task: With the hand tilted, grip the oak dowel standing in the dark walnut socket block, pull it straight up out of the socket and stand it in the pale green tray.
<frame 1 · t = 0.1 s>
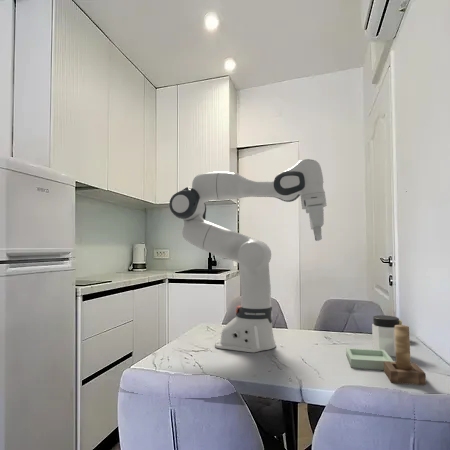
hand: (318, 240, 125), 39 cm above the table, tool pointing down, fingers open, 8 cm apart
tray: (368, 362, 108), on the table
socket block: (403, 378, 95), on the table
dowel: (402, 352, 95), in the socket block
jar: (387, 353, 118), on the table
flower pot: (388, 339, 137), on the table
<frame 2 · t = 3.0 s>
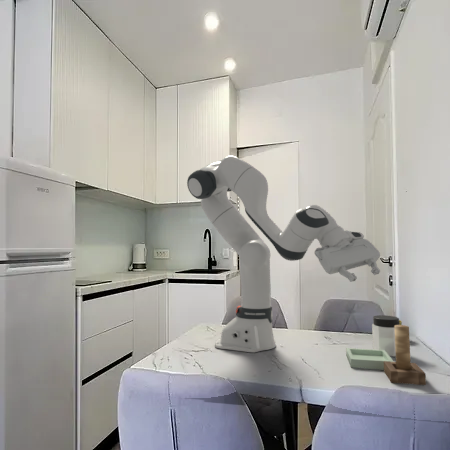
hand: (366, 276, 101), 27 cm above the table, tool tilted 45°, fingers open, 8 cm apart
nothing on the table moved.
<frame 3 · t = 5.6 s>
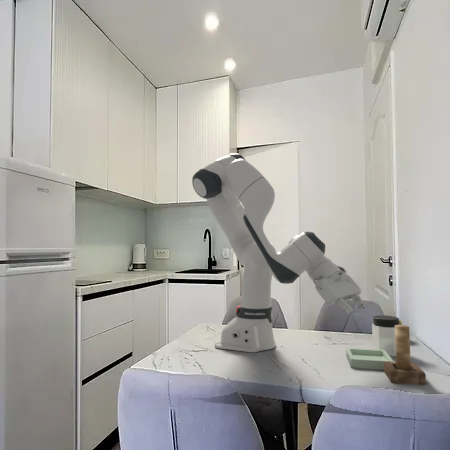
hand: (357, 310, 104), 17 cm above the table, tool tilted 45°, fingers open, 8 cm apart
nothing on the table moved.
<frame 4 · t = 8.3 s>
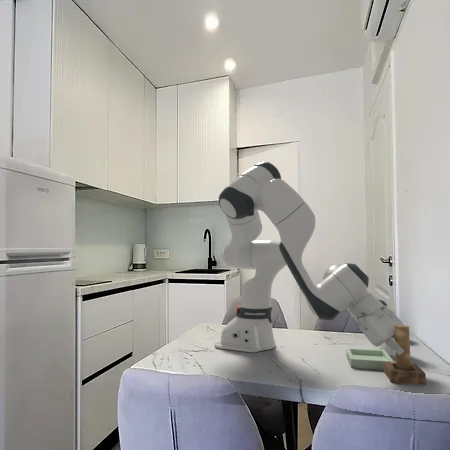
hand: (405, 351, 95), 7 cm above the table, tool tilted 45°, fingers closed on dowel, 4 cm apart
dowel: (402, 352, 95), in the socket block, touching gripper
everything else where it was.
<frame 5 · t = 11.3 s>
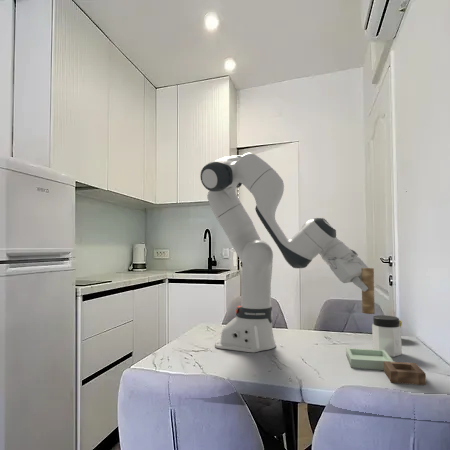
hand: (369, 289, 109), 23 cm above the table, tool tilted 45°, fingers closed on dowel, 4 cm apart
dowel: (367, 290, 109), point 22 cm above the table, touching gripper
everything else where it was.
when the fingers open (10 cm above the table, at t = 14.4 s): dowel drops 1 cm, resting on tray.
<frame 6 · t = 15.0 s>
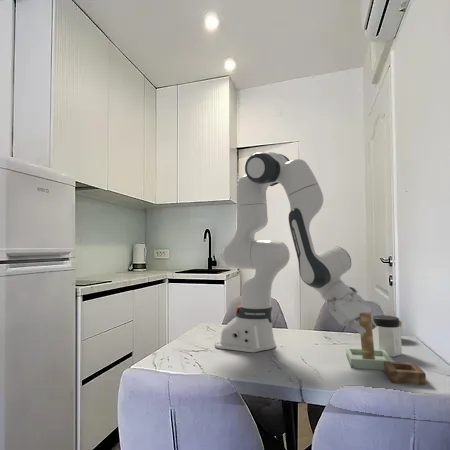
hand: (369, 330, 108), 10 cm above the table, tool tilted 45°, fingers open, 8 cm apart
dowel: (366, 335, 109), in the tray, point 8 cm above the table
everything else where it was.
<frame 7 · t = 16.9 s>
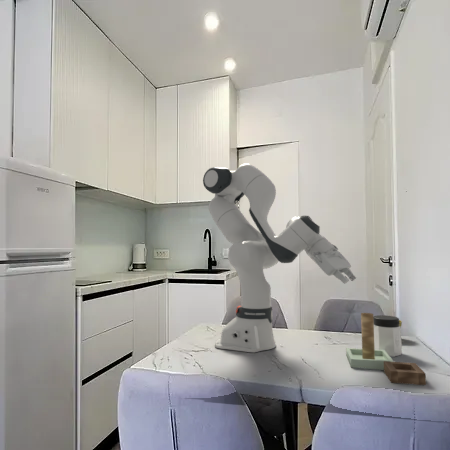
hand: (350, 280, 118), 25 cm above the table, tool tilted 45°, fingers open, 8 cm apart
nothing on the table moved.
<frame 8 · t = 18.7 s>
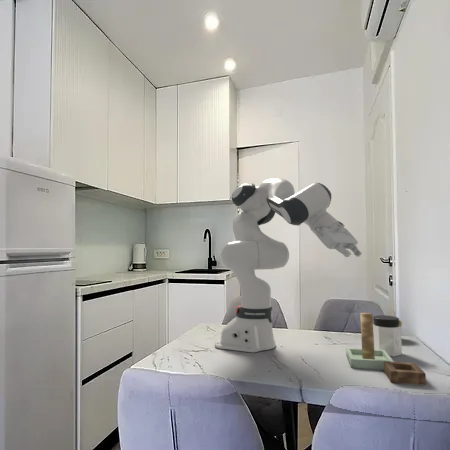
hand: (354, 255, 116), 33 cm above the table, tool tilted 45°, fingers open, 8 cm apart
nothing on the table moved.
at the end: dowel inside the target area on the tray (0.0 cm from its centre), point 8.0 cm above the tray's base; the gripper is holding nothing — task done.
